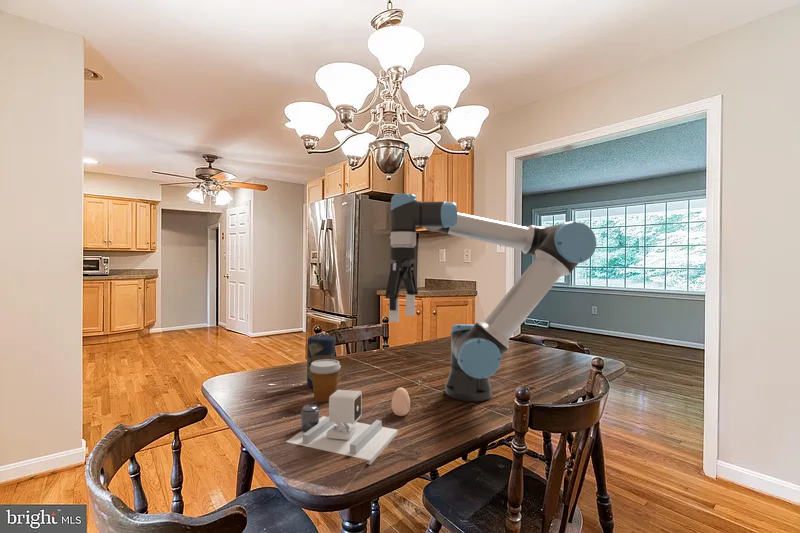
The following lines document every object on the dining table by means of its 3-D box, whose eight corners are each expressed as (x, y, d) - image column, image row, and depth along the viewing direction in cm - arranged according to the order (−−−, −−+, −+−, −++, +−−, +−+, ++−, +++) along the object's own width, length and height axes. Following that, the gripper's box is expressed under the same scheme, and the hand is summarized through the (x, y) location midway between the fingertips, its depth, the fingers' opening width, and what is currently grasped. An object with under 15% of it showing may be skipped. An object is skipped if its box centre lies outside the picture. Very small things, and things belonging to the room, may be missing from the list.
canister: (301, 386, 131) (301, 335, 131) (317, 379, 140) (317, 330, 139) (324, 390, 127) (325, 337, 127) (339, 382, 136) (340, 332, 136)
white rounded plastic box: (353, 441, 89) (353, 398, 89) (325, 438, 90) (325, 396, 90) (362, 430, 95) (361, 390, 95) (335, 428, 96) (335, 388, 97)
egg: (408, 412, 109) (408, 384, 109) (411, 420, 104) (412, 390, 104) (390, 413, 109) (390, 385, 109) (392, 421, 103) (393, 391, 103)
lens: (322, 426, 97) (322, 405, 97) (312, 433, 93) (312, 411, 93) (307, 424, 99) (307, 402, 99) (297, 431, 95) (297, 408, 95)
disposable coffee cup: (325, 409, 111) (326, 368, 111) (302, 402, 116) (303, 364, 116) (346, 399, 119) (347, 361, 119) (324, 393, 124) (324, 357, 124)
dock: (397, 433, 96) (397, 421, 96) (370, 464, 81) (370, 451, 81) (323, 419, 104) (323, 408, 104) (285, 445, 89) (285, 433, 89)
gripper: (405, 248, 125) (405, 312, 125) (373, 245, 102) (373, 324, 102) (427, 248, 122) (427, 313, 123) (399, 245, 99) (399, 325, 99)
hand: (402, 318), depth 112 cm, fingers open, 13 cm apart
